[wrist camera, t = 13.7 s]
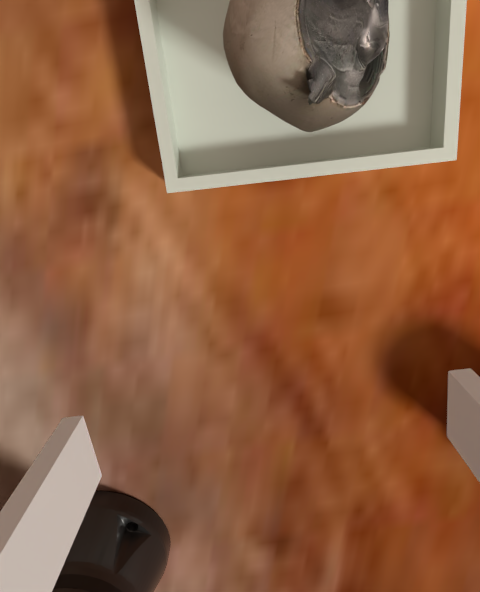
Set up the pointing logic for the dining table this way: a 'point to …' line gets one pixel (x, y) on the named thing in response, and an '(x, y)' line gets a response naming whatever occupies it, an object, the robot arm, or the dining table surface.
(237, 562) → the dining table surface
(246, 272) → the dining table surface
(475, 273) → the dining table surface
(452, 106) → the serving tray
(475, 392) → the robot arm
